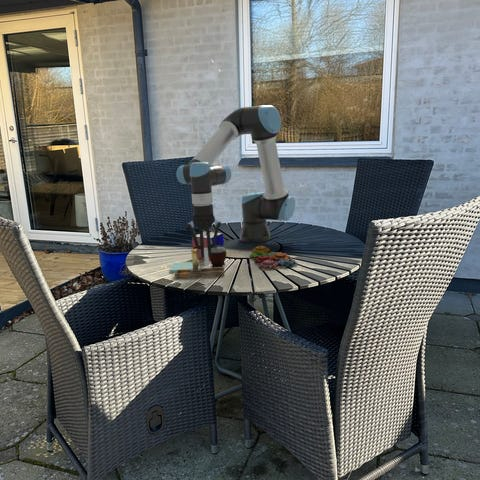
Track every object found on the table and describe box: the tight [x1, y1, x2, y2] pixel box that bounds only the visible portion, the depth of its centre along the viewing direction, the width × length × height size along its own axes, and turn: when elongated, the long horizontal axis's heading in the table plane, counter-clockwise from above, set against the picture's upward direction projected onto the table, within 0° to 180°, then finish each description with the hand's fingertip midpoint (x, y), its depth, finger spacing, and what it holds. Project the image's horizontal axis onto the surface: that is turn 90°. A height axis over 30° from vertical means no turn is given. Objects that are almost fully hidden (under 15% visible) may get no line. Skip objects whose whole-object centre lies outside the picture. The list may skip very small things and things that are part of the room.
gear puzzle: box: [249, 245, 299, 272], centre depth 192 cm, size 31×16×4 cm, turn 13°
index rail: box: [174, 266, 225, 280], centre depth 175 cm, size 19×5×2 cm, turn 91°
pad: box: [169, 261, 193, 274], centre depth 184 cm, size 11×10×1 cm
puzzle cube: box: [191, 231, 225, 262], centre depth 199 cm, size 10×10×10 cm
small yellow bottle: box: [190, 248, 203, 272], centre depth 174 cm, size 4×3×9 cm
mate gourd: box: [203, 230, 227, 268], centre depth 184 cm, size 8×8×15 cm
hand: (207, 265), depth 174 cm, fingers closed
